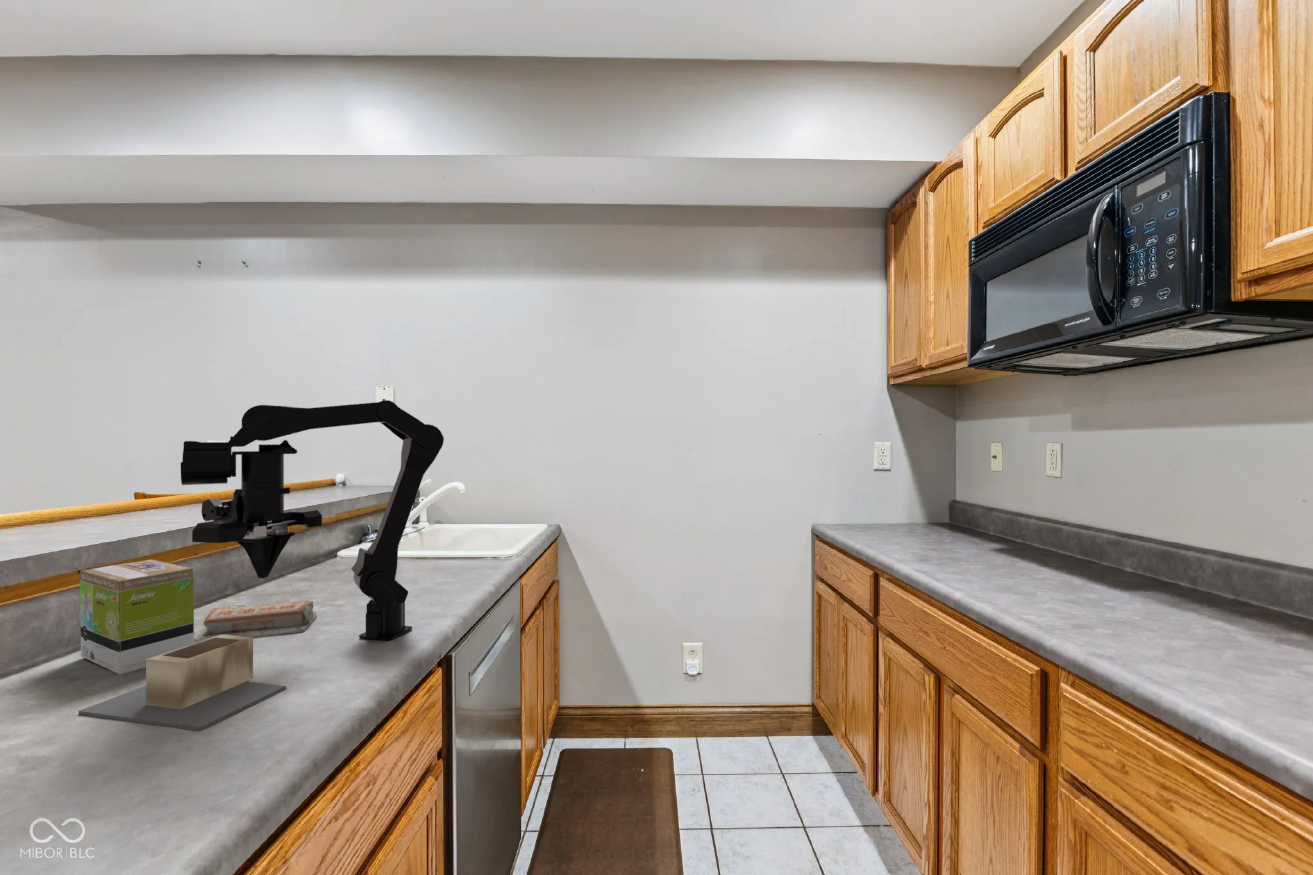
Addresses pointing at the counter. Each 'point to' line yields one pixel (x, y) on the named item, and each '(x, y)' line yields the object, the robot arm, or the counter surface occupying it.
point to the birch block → (198, 671)
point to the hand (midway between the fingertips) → (263, 577)
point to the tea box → (135, 613)
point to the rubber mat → (190, 717)
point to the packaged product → (257, 620)
